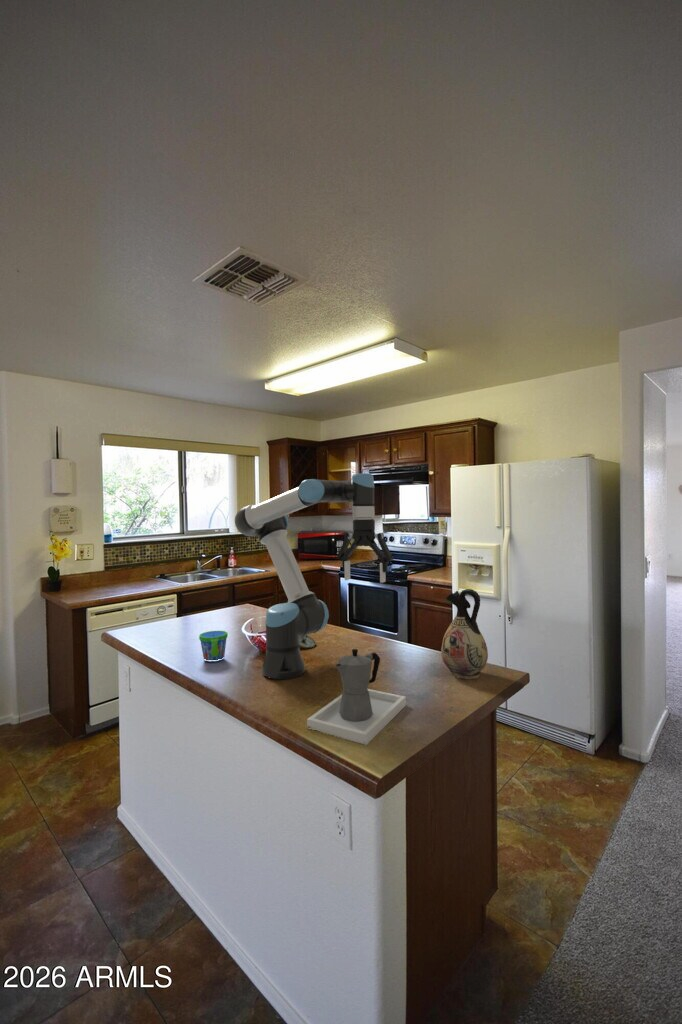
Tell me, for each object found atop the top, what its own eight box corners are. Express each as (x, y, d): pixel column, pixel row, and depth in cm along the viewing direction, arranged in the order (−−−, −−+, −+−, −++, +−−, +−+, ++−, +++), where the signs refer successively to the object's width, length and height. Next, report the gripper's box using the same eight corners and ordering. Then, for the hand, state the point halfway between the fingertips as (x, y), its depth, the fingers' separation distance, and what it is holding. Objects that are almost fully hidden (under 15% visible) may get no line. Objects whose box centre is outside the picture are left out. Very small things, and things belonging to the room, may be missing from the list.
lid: (302, 641, 200) (301, 630, 200) (320, 644, 194) (320, 632, 194) (286, 647, 191) (286, 635, 191) (305, 651, 185) (305, 639, 185)
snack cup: (201, 655, 183) (200, 629, 183) (228, 652, 185) (228, 627, 185) (198, 668, 168) (197, 640, 168) (227, 665, 170) (227, 638, 170)
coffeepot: (347, 727, 118) (345, 658, 118) (326, 715, 126) (325, 649, 126) (391, 711, 127) (390, 647, 127) (369, 700, 135) (368, 639, 135)
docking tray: (307, 728, 120) (306, 719, 120) (353, 693, 142) (353, 685, 142) (366, 744, 111) (365, 734, 111) (406, 705, 133) (405, 696, 133)
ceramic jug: (432, 676, 155) (431, 588, 155) (455, 664, 167) (453, 582, 167) (479, 688, 144) (478, 594, 144) (500, 675, 155) (499, 587, 155)
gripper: (401, 518, 153) (402, 581, 153) (337, 518, 166) (339, 577, 166) (392, 518, 147) (393, 584, 147) (326, 519, 159) (328, 580, 159)
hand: (364, 580), depth 156 cm, fingers open, 13 cm apart
